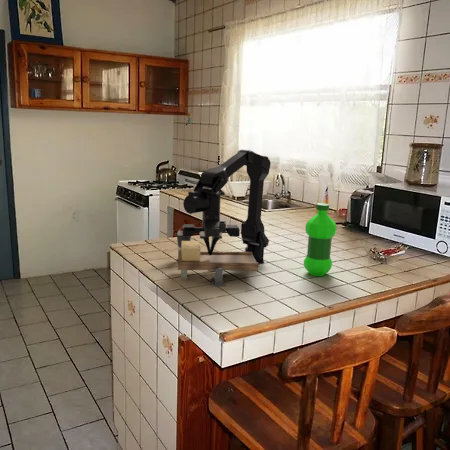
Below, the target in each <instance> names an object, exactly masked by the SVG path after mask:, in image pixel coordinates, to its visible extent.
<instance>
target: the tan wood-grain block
mask: <svg viewBox="0 0 450 450" xmlns="http://www.w3.org/2000/svg"><path fill="white" fill-rule="evenodd" d="M200 251H201V245H200V240H190V241H182V245H181V262H200Z"/></svg>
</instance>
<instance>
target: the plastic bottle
mask: <svg viewBox="0 0 450 450" xmlns="http://www.w3.org/2000/svg"><path fill="white" fill-rule="evenodd" d="M315 209H316V210H317V213H316V214H315V215H314V216H312V217H311V218H310V219H309V220H307V222H306V224H305V233H306V234H307V236H308V240H307V241H308V242H307V243H308V244H307V252H306V253H307V255H306V257H305V258H304V260H303V266H304V268H305V270H306V271H307V272H308V273H309V275H311V276H314V277H324V276H325V275H326V274H328V273H329V272H330V270H331V269H332V267H333V261H332V258H331V250H332V242H333V241H332V240H333V237H334V236H335V235H336V233H337V230H338V229H337V227H338V226H337V223H336V222H335V221H334V220H333V218H331V216H329V215H328V211H329V210H330V204H329V203H324V202H318V203H316V208H315Z"/></svg>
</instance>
